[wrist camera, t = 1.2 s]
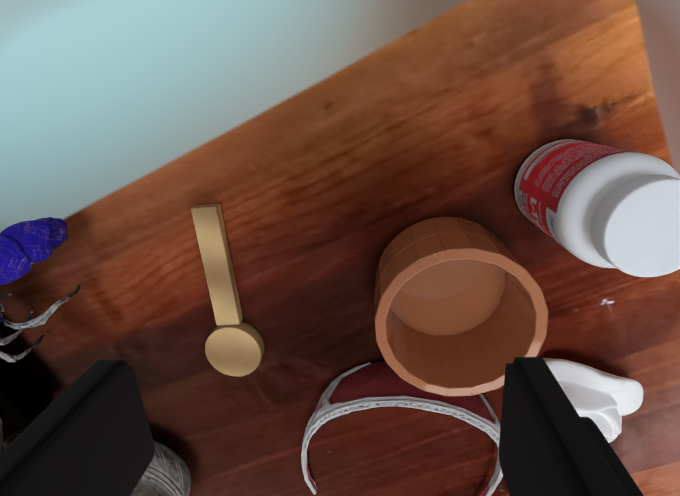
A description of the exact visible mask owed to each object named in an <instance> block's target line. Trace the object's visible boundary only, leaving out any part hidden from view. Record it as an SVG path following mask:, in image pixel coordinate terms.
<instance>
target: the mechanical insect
mask: <svg viewBox="0 0 680 496" xmlns="http://www.w3.org/2000/svg"><path fill="white" fill-rule="evenodd" d="M66 228H67V224H66V222H64V221H63V220H62V219H57V218H51V217H49V218H42V219H37V220H34V221H25V222H20V223H17V224H14V225H12V226H10V227H8V228H6V229H5V230H3V231H2V232H1V234H0V285H3V284H7V283H11V282H13V281H15V280H17V279H19V278H21V277H24V275H25V274H26V273H28V272H29V271H30V270H31V268H32V264H33V263H36V262H41V261H46V260H47V259H48V258H49V257H50V255H51V253H53V252H54V251H55V250H56V249H57V246H58V247H60V246H61V244H62V243H63V242H64V241H66V240H68V238H69V236H68V235H67V233H66ZM80 286H81V284H80V285H78V286H77V288H76V290H75V292H73V293H71V294H69V295H68V296H66V297H64V298H63V299H61V300H58V301H57V302H56V303H54V304H53V305H52V306H51V307H50V308H49V309H48V310H47V311H45V312H44V313H43V314H42V315H40V316H39V317H37V318H34V319H32V320H30V318H31V316H32V314H33V310H32V311H31V312H30V314H29V315H28V317H27V318H26V320H25V322H24V323H11V322H9V321H8V320H6V319H3V318H4V316H3V315H2V314H1V312H3V311H4V309H3V306H2V304H1V303H0V323H1V321H2V322H3V324H4V325H5V326H8V327H11V328H14V329H19V330H18V331H17V332H16V333H15V334H13V335H10V336H8V337H5V338H2V339H1V338H0V345H5V344H8V343H9V342H11V341H12V340H13V339H15V338H16V337H17V336H18V335H19V334H20V333H21V332H22V331H23V330H24V329H26V328H32V327H37V326H39V325H43V324H45V322H46V321H47V320H48V318H49V317H50V316H51V315H52V314H53V312H54V311H55V310H56V309H57V308H58V307H59V306H60V305H61V304H63V303H64V302H66V301H68V300H69V299H70V298H71V297H72V296H74V295H75V294H77V293H78V291H79V290H80ZM11 295H12V293H8V294H5V295H2V296H0V299H1V298H4V297H7V296H11ZM44 336H45V335H42V336H41V337H39V338H38V339H37V340H36V342H35V343H34V344H33V346H31V347H30V348H29V349H27V350H26V351H25V352H23V353H21V354H20V355H14V356H11V355H9V354H6V353H3V352H1V351H0V358H2V359H4V360H6V361H8V362H16V361H18V360H19V359H21V358H23V357H24V356H25V355H26V354H28V353H29V352H30V351H31V350H32V349H35V348H36V347H37V346H38V344H39V343H40V342H41V341H42V338H43V337H44ZM2 443H3V428H2V421H1V418H0V452H1V449H2Z"/></svg>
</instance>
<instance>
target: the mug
mask: <svg viewBox="0 0 680 496" xmlns="http://www.w3.org/2000/svg"><path fill="white" fill-rule="evenodd" d="M154 445H155V452H154V456H153V459H152V461H151V463H150V465H149V466H148V468H147V469H146V471H145V473H144V474H143V476H142V478H141V479H140V481H139V482H138V484H137V486H136V487H135V489H134V490H133V492H132V494H131V495H130V496H189V494H190V488H191V475H190V470H189V468H188V466H187V465H186V463H185V462H184V460H183V459H182V458H181V457H180V456H179V455H178V454H177V453H176V452H174V451H172V450H171V449H170V448H168V447H167V446H165V445H163V444H161V443H159V442H156V441H154Z"/></svg>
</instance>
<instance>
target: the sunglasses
mask: <svg viewBox="0 0 680 496" xmlns="http://www.w3.org/2000/svg"><path fill="white" fill-rule="evenodd" d="M382 403H383V404H382ZM385 403H386V404H385ZM398 403H399V404H398ZM405 403H407V404H408V405H405ZM371 404H372V405H371ZM377 404H380V405H377ZM381 404H382V405H381ZM384 404H385V405H384ZM391 404H392V405H391ZM363 405H364V406H363ZM414 405H416V406H414ZM417 405H420V406H417ZM359 406H363V407H359ZM385 406H400V407H410V408H417V409H422V410H427V411H432V412H437V413H442V414H447V415H452V416H454V417H457V418H459V419H462V420H464V421H466V422H468V423H470V424H472V425H474V426H475V427H477V428H479V429H481V430H483V431H485V432H486V433H487V434H488V435H489V436H490V437H491V438H492V439H493V440H494V441H495V442H496V443H497V446H498V459H497V464H496V469H495V473H494V475H493V477H492V478H491V480H490V482H489V484H488V486H487V488H486V489H485V491H484V492H483V493H482V494H481V495H480V496H491V495H492V493H493V492H494V490H495V488H496V487H497V485H498V484H499V483H500V481H501V479H502V477H503V473H502V470H501V466H500V462H499V439H500V427H501V425H500V423H499V421H498V419H497V417H496V415H495V413H494V411H493V409H492V407H491V406H490V404H489V403H488V401H487V400H486V399H485V397H484V396H483V395H482V394H477V395H472V396H443V395H439V394H435V393H431V392H426V391H423V390H421V389H419V388H417V387H415V386H414V385H412V384H410V383H408V382H406V381H405V380H403V379H401V378H400V377H399V375H398V374H397V373H396V372H395V371H394V370H393V369H392V368H391V367H390V366H389V365H388V364H387V363H386V361H383V362H377V363H370V362H369V363H366V364H363V365H360V366H357V367H355V368H353V369H351V370H349V371H347V372H345V373H343V374H342V375H340V376H339V377H338V378H336V379H335V380H334V381H332V382H331V384H330V385H329V386H328V388H327V389H326V390H325V391H324V393H323V394H322V395H321V398H320V400H319V403H318V405H317V408H316V411H315V412H314V413H313V415H312V416H311V418H310V420H309V421H308V424H307V427H306V430H305V434H304V438H303V445H302V453H301V459H302V470H303V474H304V478H305V481H306V483H307V485H308V486H309V488H310V489H311V491H312V493H313V494H314V495H316V492H317V487H316V483H315V482H314V481H313V479H312V478H311V476H310V473H309V469H308V464H307V447H308V443H309V441H310V438H311V436H312V435H313V434H314V433H315V432H316V431H317V429H318V428H319V427H320V426H321V425H322V424H325V423H327V422H329V421H332V420H334V419H336V418H338V417H341V416H343V415H345V414H348V413H350V412H352V411H357V410H363V409H369V408H375V407H385ZM426 406H428V407H426ZM355 407H356V408H355ZM437 408H438V409H437ZM346 409H347V411H344V410H346ZM446 411H447V412H446ZM449 411H450V412H449ZM452 412H453V414H452ZM333 414H334V415H333ZM463 417H464V418H463ZM467 418H468V419H469V420H467ZM471 421H474V422H471ZM477 424H478V425H477ZM485 429H486V430H485Z"/></svg>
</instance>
